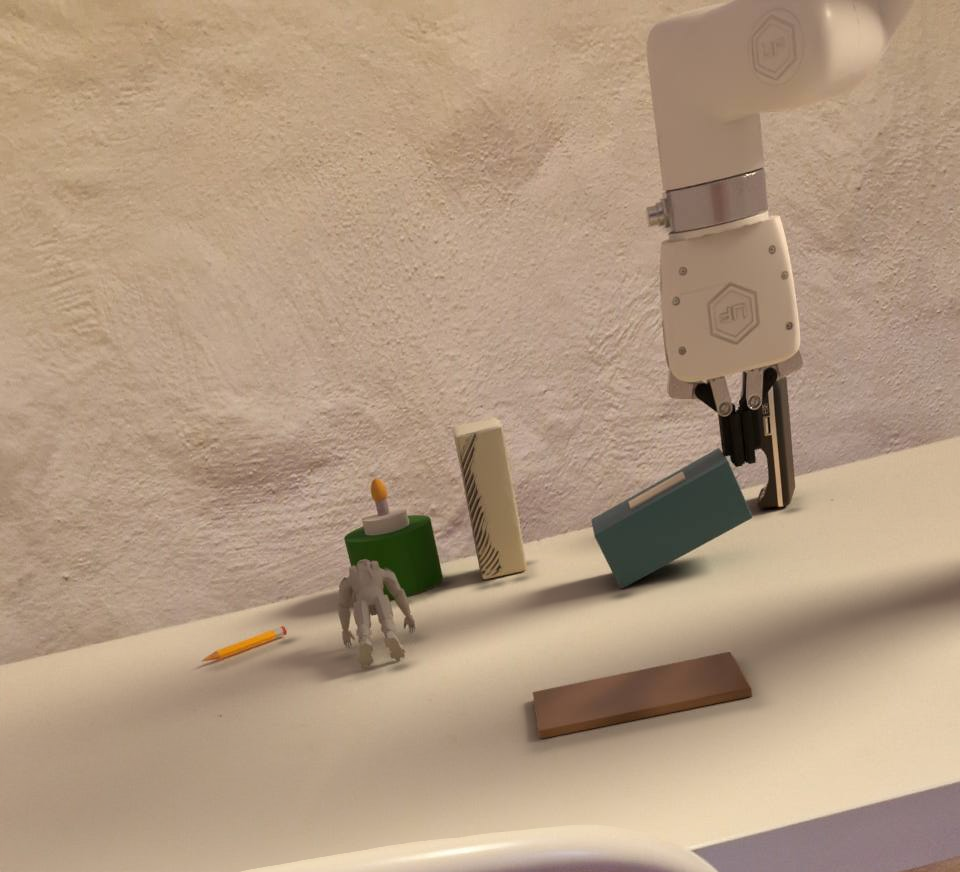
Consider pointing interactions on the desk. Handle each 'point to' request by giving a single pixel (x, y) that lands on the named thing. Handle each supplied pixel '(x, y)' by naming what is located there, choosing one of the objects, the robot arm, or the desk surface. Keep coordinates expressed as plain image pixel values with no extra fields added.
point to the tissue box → (671, 518)
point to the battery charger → (776, 447)
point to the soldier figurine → (372, 608)
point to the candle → (397, 544)
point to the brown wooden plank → (639, 694)
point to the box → (490, 497)
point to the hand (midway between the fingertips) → (743, 461)
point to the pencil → (246, 644)
